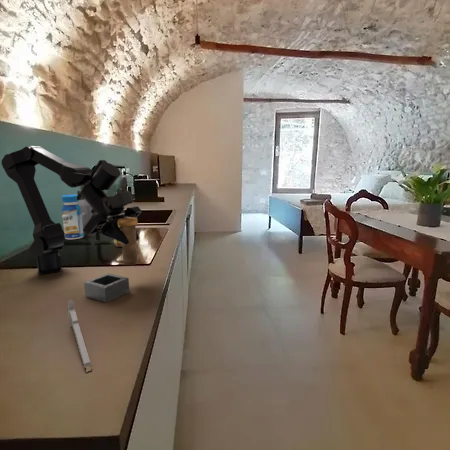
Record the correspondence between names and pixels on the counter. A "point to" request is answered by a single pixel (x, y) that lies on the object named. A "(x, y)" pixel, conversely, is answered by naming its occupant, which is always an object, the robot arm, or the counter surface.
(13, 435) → the counter surface
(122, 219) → the pin
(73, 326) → the caliper
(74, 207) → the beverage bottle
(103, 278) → the socket block
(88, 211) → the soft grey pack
